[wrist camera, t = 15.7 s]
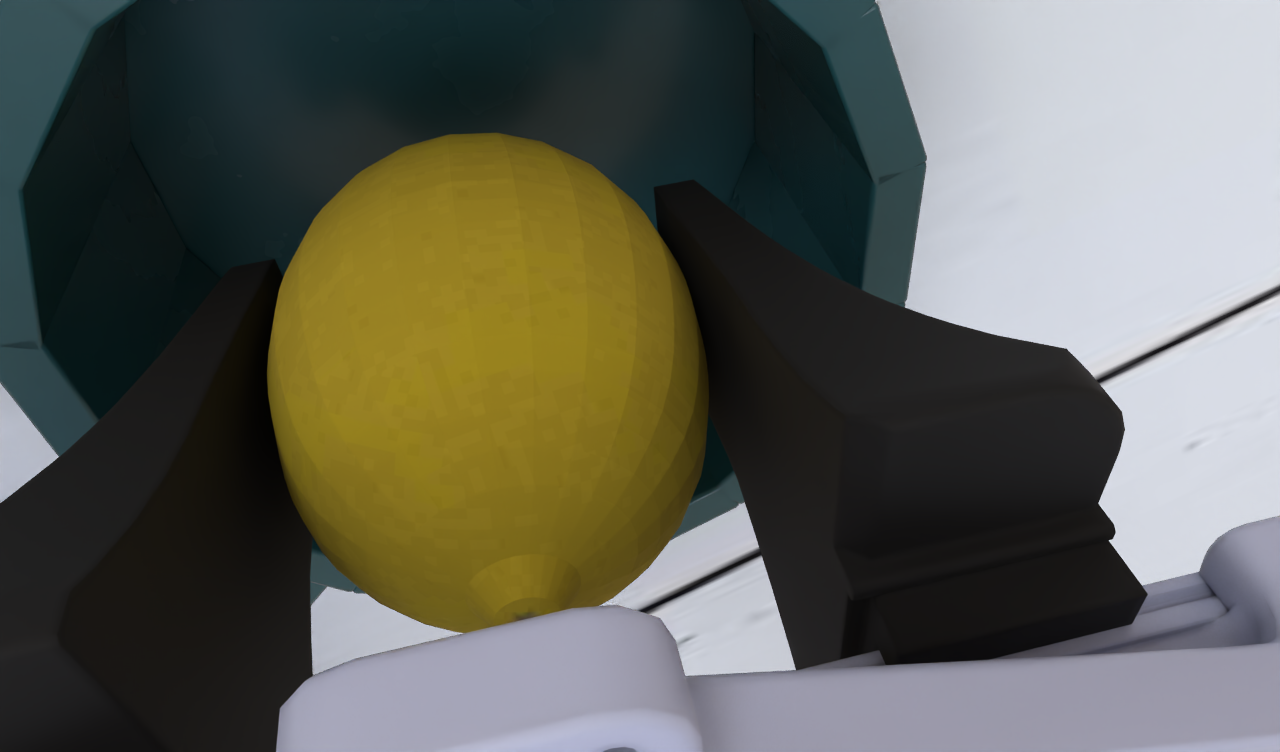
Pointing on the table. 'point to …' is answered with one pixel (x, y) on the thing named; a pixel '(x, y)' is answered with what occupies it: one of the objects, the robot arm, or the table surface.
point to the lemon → (487, 383)
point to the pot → (394, 118)
